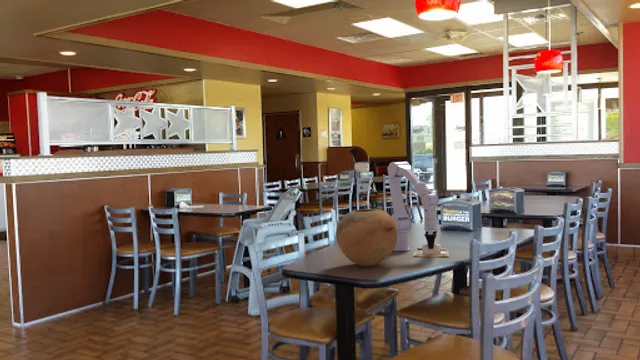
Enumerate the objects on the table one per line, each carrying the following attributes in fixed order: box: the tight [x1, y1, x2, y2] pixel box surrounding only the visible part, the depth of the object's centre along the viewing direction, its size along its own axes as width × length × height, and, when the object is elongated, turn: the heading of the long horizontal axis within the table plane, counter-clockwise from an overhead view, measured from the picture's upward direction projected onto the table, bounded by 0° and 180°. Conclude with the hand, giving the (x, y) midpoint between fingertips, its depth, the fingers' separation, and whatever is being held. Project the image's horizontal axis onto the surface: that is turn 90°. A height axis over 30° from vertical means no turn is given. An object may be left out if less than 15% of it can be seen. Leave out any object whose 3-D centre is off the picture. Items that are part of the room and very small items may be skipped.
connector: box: [416, 243, 447, 254], centre depth 264 cm, size 13×4×4 cm, turn 77°
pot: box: [335, 208, 397, 268], centre depth 245 cm, size 31×27×25 cm
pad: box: [413, 250, 450, 258], centre depth 265 cm, size 16×10×1 cm, turn 78°
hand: (431, 247), depth 264 cm, fingers open, 7 cm apart
